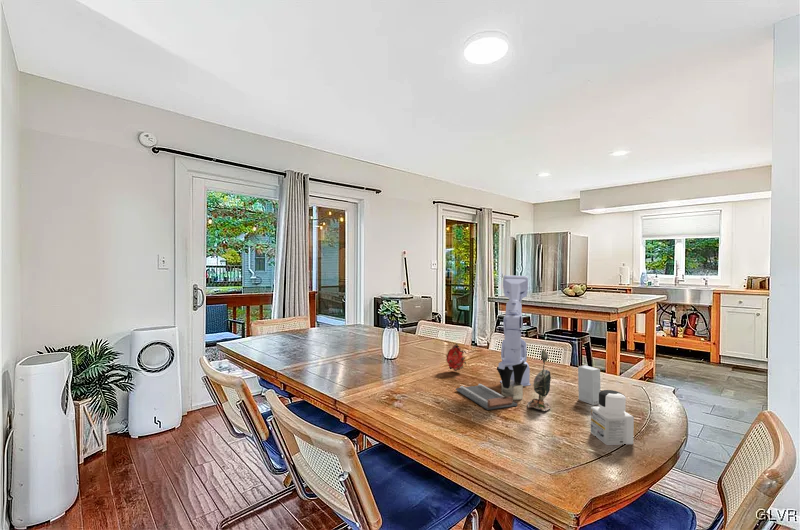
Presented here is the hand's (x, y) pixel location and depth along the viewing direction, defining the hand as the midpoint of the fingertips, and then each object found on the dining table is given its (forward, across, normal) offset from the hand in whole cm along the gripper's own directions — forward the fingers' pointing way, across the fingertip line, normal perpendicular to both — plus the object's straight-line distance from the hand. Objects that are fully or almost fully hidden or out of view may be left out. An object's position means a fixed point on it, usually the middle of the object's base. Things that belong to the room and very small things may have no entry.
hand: (512, 385), depth 141 cm
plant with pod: (+4, +1, +12) cm, 12 cm away
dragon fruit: (+4, -8, -34) cm, 35 cm away
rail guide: (+4, +8, -6) cm, 11 cm away
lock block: (+4, 0, 0) cm, 4 cm away
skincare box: (+4, -16, +21) cm, 26 cm away
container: (+4, +8, +37) cm, 38 cm away
